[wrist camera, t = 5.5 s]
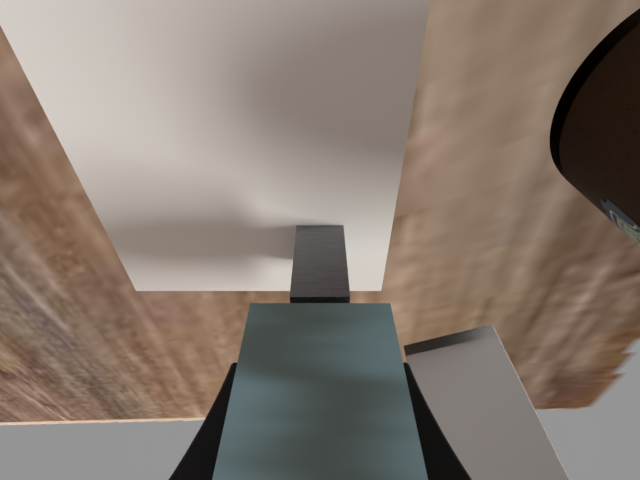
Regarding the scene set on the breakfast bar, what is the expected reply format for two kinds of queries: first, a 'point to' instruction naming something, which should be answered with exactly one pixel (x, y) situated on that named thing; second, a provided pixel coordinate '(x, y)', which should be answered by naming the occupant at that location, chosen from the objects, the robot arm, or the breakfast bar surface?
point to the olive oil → (604, 127)
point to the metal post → (319, 265)
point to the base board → (228, 127)
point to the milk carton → (483, 407)
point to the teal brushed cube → (320, 397)
